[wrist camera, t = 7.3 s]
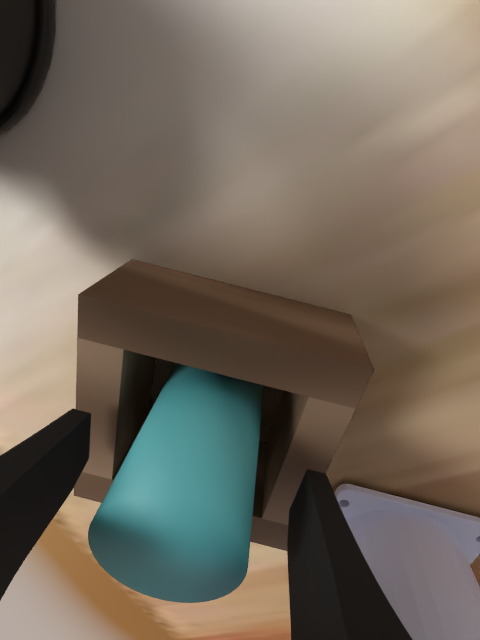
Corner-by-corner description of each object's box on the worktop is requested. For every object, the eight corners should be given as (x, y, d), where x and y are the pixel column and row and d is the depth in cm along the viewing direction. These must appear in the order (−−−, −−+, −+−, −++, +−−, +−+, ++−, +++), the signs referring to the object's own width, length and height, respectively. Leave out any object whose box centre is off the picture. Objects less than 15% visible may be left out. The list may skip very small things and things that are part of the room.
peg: (249, 420, 17) (223, 618, 10) (169, 395, 17) (81, 575, 9) (276, 351, 15) (270, 529, 8) (187, 322, 15) (97, 475, 8)
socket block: (287, 471, 18) (289, 551, 14) (116, 427, 18) (73, 495, 14) (350, 314, 14) (374, 369, 10) (131, 259, 14) (78, 294, 10)
